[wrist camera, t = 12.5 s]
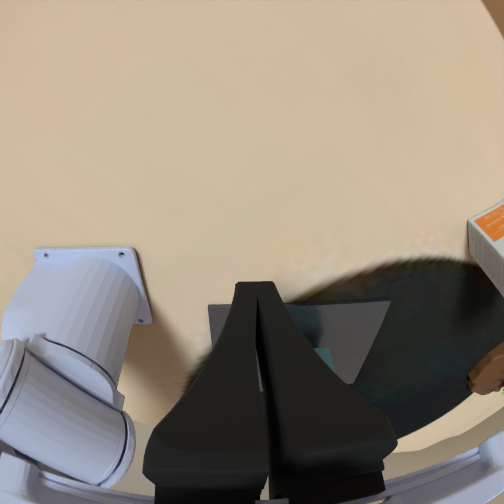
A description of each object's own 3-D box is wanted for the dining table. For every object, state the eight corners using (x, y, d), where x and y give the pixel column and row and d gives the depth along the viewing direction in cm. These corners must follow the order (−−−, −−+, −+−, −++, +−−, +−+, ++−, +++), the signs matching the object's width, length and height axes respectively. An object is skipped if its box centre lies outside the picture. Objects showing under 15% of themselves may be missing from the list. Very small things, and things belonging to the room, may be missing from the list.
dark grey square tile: (218, 389, 34) (217, 443, 28) (208, 304, 25) (203, 376, 20) (352, 380, 34) (365, 430, 29) (389, 297, 26) (418, 358, 21)
